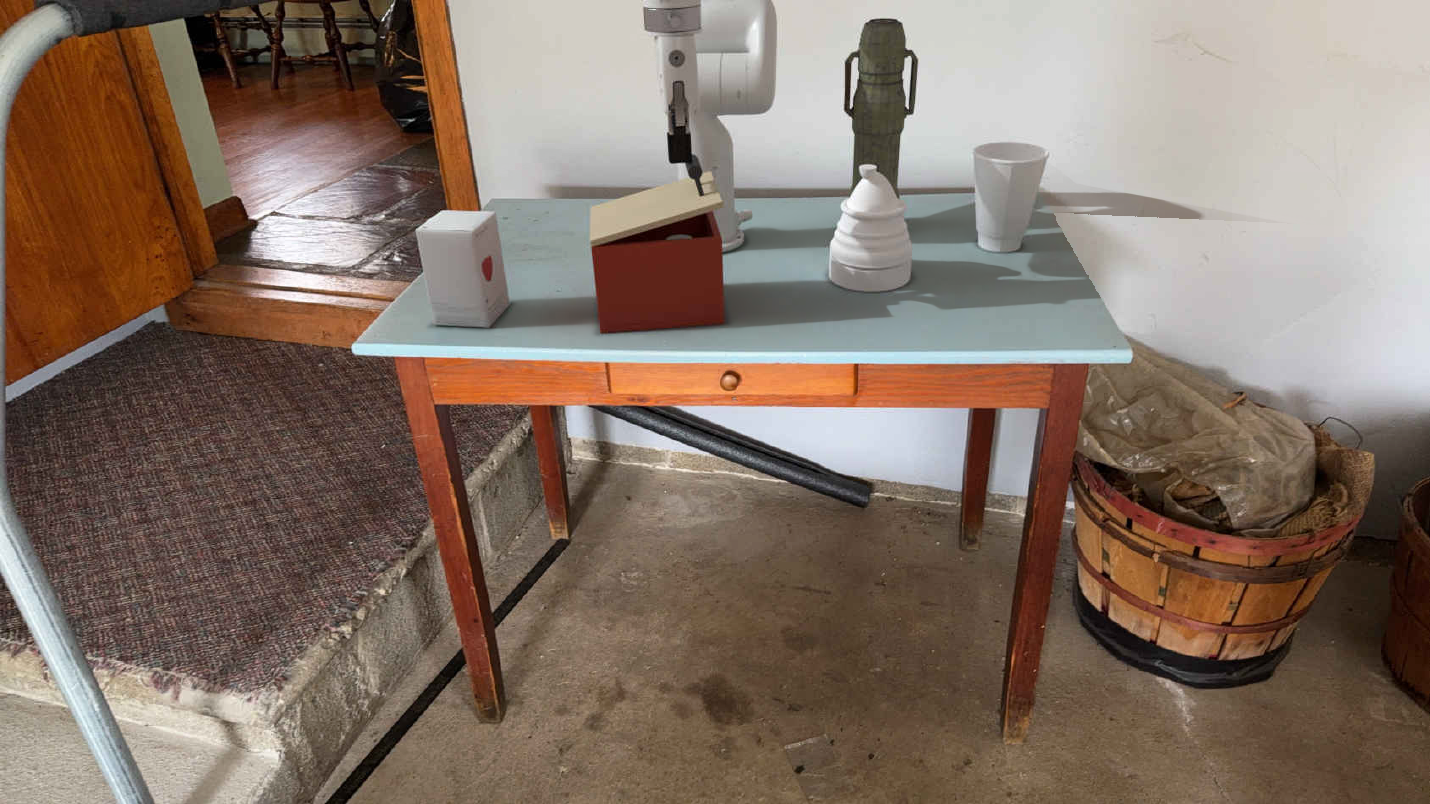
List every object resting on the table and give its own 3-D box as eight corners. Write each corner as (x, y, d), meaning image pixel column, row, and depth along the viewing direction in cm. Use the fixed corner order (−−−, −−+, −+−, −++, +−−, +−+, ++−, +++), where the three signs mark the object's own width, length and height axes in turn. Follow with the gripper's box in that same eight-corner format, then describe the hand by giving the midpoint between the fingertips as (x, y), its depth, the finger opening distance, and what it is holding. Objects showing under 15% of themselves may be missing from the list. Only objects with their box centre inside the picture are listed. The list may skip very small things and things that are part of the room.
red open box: (713, 284, 147) (710, 204, 140) (724, 323, 134) (722, 238, 128) (600, 292, 146) (592, 212, 139) (600, 333, 133) (591, 247, 126)
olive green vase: (835, 220, 171) (842, 18, 154) (899, 218, 171) (913, 15, 154) (843, 237, 163) (851, 25, 146) (909, 234, 164) (925, 22, 146)
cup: (1033, 234, 161) (1046, 142, 153) (1037, 259, 151) (1052, 162, 143) (963, 231, 164) (972, 140, 156) (963, 255, 154) (973, 160, 146)
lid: (712, 176, 138) (702, 141, 136) (723, 207, 125) (713, 169, 123) (592, 212, 139) (580, 178, 136) (591, 247, 126) (578, 210, 123)
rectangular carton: (489, 329, 135) (472, 231, 128) (432, 326, 137) (412, 229, 129) (512, 304, 143) (497, 210, 135) (457, 301, 144) (440, 208, 137)
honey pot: (880, 298, 140) (887, 181, 131) (812, 278, 148) (815, 166, 139) (925, 273, 148) (935, 161, 139) (859, 255, 156) (864, 148, 147)
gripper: (707, 27, 114) (712, 174, 123) (696, 12, 127) (702, 146, 136) (646, 30, 113) (656, 178, 122) (642, 14, 126) (651, 149, 135)
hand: (680, 161), depth 129 cm, fingers closed
